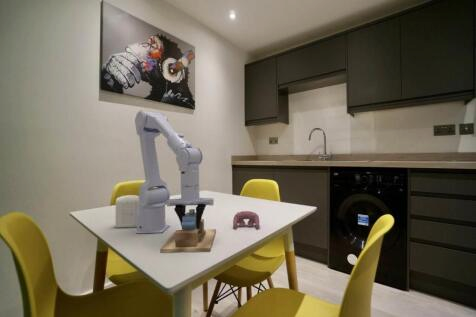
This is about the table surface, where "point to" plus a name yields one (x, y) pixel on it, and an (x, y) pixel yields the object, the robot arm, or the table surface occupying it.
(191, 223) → the servo
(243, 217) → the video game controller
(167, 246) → the bread on cutting board
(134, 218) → the photo printer
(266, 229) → the table surface
